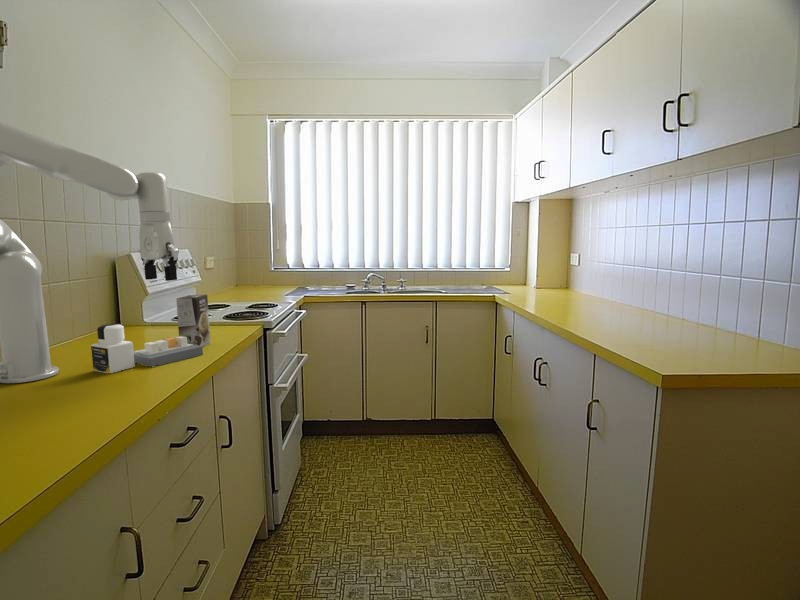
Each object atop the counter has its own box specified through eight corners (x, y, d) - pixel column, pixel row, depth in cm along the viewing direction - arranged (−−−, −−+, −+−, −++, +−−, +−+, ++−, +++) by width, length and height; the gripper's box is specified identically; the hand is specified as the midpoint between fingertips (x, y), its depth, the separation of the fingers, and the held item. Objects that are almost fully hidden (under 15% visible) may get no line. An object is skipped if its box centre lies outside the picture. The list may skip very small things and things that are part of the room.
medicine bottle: (92, 371, 130) (88, 326, 128) (119, 364, 136) (115, 321, 134) (109, 374, 126) (105, 328, 125) (135, 367, 132) (131, 323, 131)
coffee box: (199, 349, 152) (196, 297, 150) (179, 349, 153) (175, 298, 150) (211, 342, 161) (208, 294, 159) (192, 343, 162) (188, 294, 159)
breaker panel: (151, 367, 132) (149, 347, 132) (126, 361, 139) (125, 342, 138) (202, 354, 146) (201, 336, 145) (178, 349, 152) (177, 332, 151)
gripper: (124, 219, 138) (131, 280, 141) (160, 217, 129) (166, 282, 132) (150, 219, 145) (156, 277, 147) (186, 217, 135) (191, 279, 138)
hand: (161, 279), depth 139 cm, fingers open, 9 cm apart
